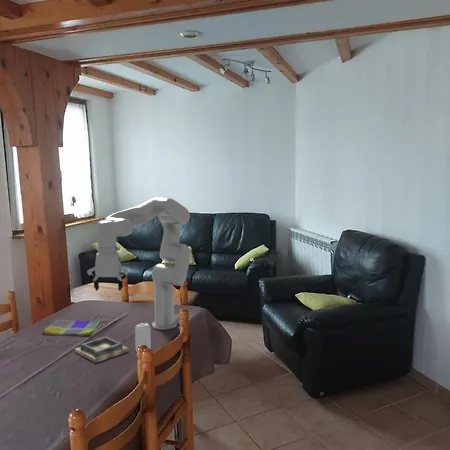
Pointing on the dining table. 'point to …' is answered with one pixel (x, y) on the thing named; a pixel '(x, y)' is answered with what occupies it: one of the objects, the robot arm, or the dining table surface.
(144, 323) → the can
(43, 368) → the dining table surface
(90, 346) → the square tray
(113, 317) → the dining table surface
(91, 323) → the dish towel
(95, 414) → the dining table surface
